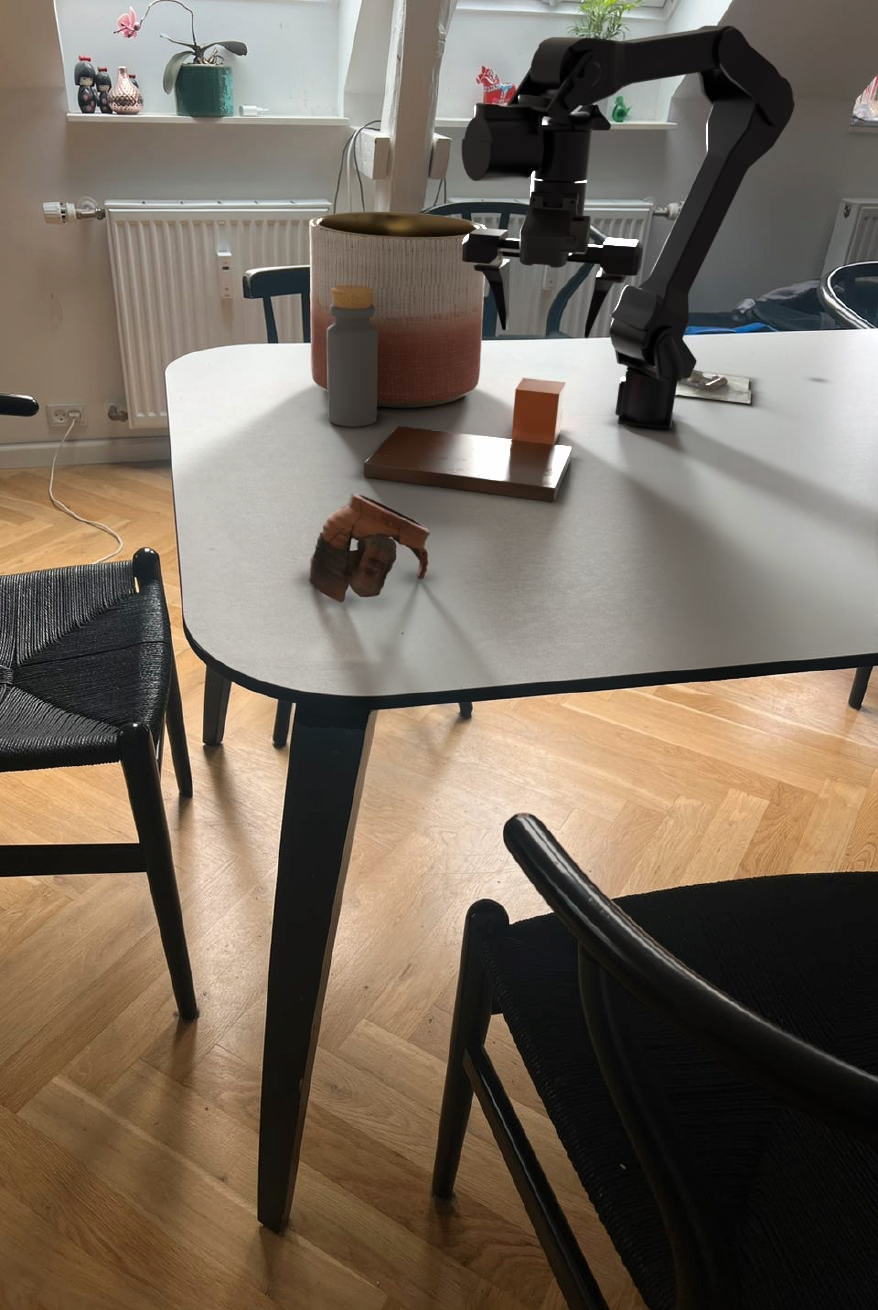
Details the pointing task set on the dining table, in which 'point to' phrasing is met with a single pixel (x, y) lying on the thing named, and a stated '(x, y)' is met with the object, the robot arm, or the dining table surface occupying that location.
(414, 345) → the planter
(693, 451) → the dining table surface
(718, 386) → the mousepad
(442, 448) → the board
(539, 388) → the terracotta block
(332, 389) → the bottle
